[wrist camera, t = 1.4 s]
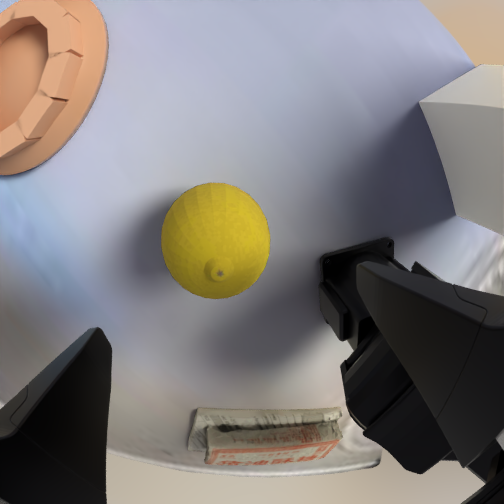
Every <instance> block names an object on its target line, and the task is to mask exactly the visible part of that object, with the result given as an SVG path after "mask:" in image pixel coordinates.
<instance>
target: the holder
mask: <svg viewBox="0 0 504 504" xmlns="http://www.w3.org/2000/svg"><path fill="white" fill-rule="evenodd" d="M108 48H109V41H108V31H107V26H106V23H105V20H104V18H103V15H102V14H101V12H100V11H99V9H98V8H97V7H96V6H95V5H94V3H93V2H92V1H91V0H20V1H18V3H17V2H15V3H14V4H13V5H11V6H10V7H8V8H7V9H6V10H4V11H3V12H2V13H0V175H12V174H17V173H20V172H24V171H27V170H30V169H32V168H34V167H36V166H39V165H40V164H42V163H44V162H45V161H47V160H48V159H50V158H51V157H52V156H53V155H55V154H56V153H57V152H58V151H59V150H60V149H61V148H62V147H63V146H64V145H65V144H66V143H67V142H68V141H69V140H70V139H71V137H72V136H73V135H74V134H75V133H76V131H77V130H78V128H79V127H80V125H81V124H82V123H83V121H84V119H85V118H86V116H87V114H88V113H89V111H90V109H91V107H92V105H93V103H94V101H95V99H96V97H97V94H98V92H99V89H100V86H101V84H102V80H103V77H104V74H105V70H106V65H107V59H108Z"/></svg>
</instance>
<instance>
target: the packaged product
mask: <svg viewBox="0 0 504 504" xmlns="http://www.w3.org/2000/svg"><path fill="white" fill-rule="evenodd" d="M340 417H342V410H341V408H340V407H334V408H323V409H297V410H239V409H213V408H198V409H197V412H196V415H195V418H194V424H193V427H192V430H191V433H190V436H189V439H188V451H201V452H206V455H205V459H204V461H205V464H211V465H267V464H283V463H294V462H302V461H311V460H317V459H320V458H324V457H325V456H326V455H327V454H328V453H329V452H330V451H331V450H332V449H333V448H334V447H335V446H336V445H337V444H338V443H339V442H340V440H341V439H342V438H343V436H342V432H341V431H340V430H339V425H338V423H337V420H338V419H339V418H340Z"/></svg>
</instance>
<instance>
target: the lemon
mask: <svg viewBox="0 0 504 504" xmlns="http://www.w3.org/2000/svg"><path fill="white" fill-rule="evenodd" d="M161 248H162V252H163V256H164V260H165V264H166V266H167V268H168V269H169V271H170V273H171V275H172V276H173V278H174V279H175V280H176V281H177V282H178V283H179V284H180V285H181V286H182V287H183V288H184V289H186V290H188V291H189V292H191V293H192V294H195V295H198V296H201V297H204V298H211V299H222V298H229V297H232V296H235V295H238V294H240V293H241V292H243V291H244V290H246V289H248V288H249V287H250V286H251V285H252V284H253V283H254V282H255V281H256V280H258V278H259V276H260V275H261V273H262V272H263V270H264V268H265V266H266V263H267V260H268V257H269V252H270V233H269V228H268V224H267V220H266V218H265V216H264V214H263V212H262V210H261V208H260V206H259V205H258V204H257V203H256V202H255V201H254V200H253V199H252V198H251V196H250V195H249V194H247V193H245V192H244V191H242V190H240V189H239V188H237V187H235V186H231V185H228V184H225V183H207V184H202V185H198V186H195V187H194V188H192V189H190V190H188V191H186V192H185V193H183V194H182V195H181V196H180V197H179V198H178V199H177V200H176V201H175V202H174V203H173V205H172V206H171V208H170V209H169V211H168V212H167V214H166V217H165V220H164V223H163V227H162V234H161Z"/></svg>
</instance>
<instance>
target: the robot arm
mask: <svg viewBox="0 0 504 504" xmlns="http://www.w3.org/2000/svg"><path fill="white" fill-rule="evenodd" d="M388 243H389V244H388ZM387 244H388V245H387ZM328 259H329V262H328V263H325V262H326V260H328ZM320 267H321V279H322V282H320V284H319V295H320V309H321V311H322V313H323V315H324V319H325V321H326V323H327V324H330V326H331V328H332V329H333V331H334V332H335V334H336V336H337V337H338V339H339V340H340V341H346V340H347V341H348V342H349V344H350V346H351V347H352V349H353V350H354V352H353V353H352V354H351V355H350V356H349V358H348V359H347V360H344V362H343V363H342V364H341V365H340V368H341V374H342V380H343V386H344V392H345V398H346V406H347V409H348V412H349V414H350V416H351V417H352V419H353V420H354V421H355V422H356V423H357V424H358V425H359V426H360V427H361V428H362V429H363V430H364V431H363V435H364V436H365V437H367V438H369V439H371V440H372V441H374V442H376V443H378V444H379V445H381V446H382V447H383V448H385V449H386V450H387V451H388V452H389V453H390V454H391V455H392V456H393V457H394V458H395V459H396V460H397V461H398V462H399V463H400V464H401V465H402V466H403V468H405V469H406V470H408V471H411V472H414V473H417V474H423V473H425V472H426V471H427V470H428V469H430V468H431V467H433V466H434V465H435V464H437V463H438V462H439V461H441V460H442V461H458V462H459V463H460V464H461V466H462V468H465V467H467V468H468V469H469V470H470V471H471V472H472V473H474V474H475V475H476V476H477V477H478V478H480V479H481V480H482V481H483V482H484V483H486V484H485V485H484V486H483V487H482V488H481V489H479V490H478V491H477V492H475V493H474V494H473V495H472V496H470V497H469V498H468V499H466V500H465V501H463V502H462V503H461V504H504V296H500V295H495V294H490V293H486V292H481V291H477V290H473V289H469V288H465V287H462V286H458V285H455V284H453V285H452V284H451V283H447V282H445V281H444V280H442V279H441V278H440V277H438V276H437V275H435V274H434V273H432V272H431V271H430V270H428V269H427V268H425V267H424V266H422V265H421V264H419V263H418V262H416V261H415V263H414V265H413V266H412V271H411V272H410V271H409V270H408V269H407V268H405V267H404V266H403V265H402V264H400V263H399V262H398V261H396V260H395V259H394V241H393V240H392V239H391V238H389V237H387V238H383V239H379V240H376V241H372V242H369V243H365V244H362V245H358V246H354V247H351V248H347V249H343V250H340V251H336V252H332V253H329V254H325V255H323V256H322V257H321V259H320ZM111 369H112V347H111V344H110V343H109V341H108V339H107V338H106V336H105V334H104V332H103V331H102V329H101V328H99V327H96V328H90V329H88V330H87V331H86V332H85V333H84V334H83V335H82V336H80V337H79V338H78V339H77V340H76V341H75V342H74V343H72V344H71V345H70V346H69V347H68V348H67V349H66V350H65V351H63V352H62V353H61V354H60V355H59V356H58V357H57V358H56V359H55V360H53V361H52V362H51V363H50V364H49V365H48V366H47V367H46V368H45V369H44V370H43V371H41V372H40V373H39V374H38V375H37V376H36V377H35V378H34V379H33V380H32V381H31V382H30V383H29V385H26V386H25V387H24V388H23V389H22V390H21V391H20V392H19V393H18V394H17V395H16V396H15V397H14V398H13V399H11V400H10V401H9V402H8V403H7V404H6V405H5V406H4V407H2V408H1V409H0V504H107V499H106V445H107V427H108V414H109V403H110V393H111Z"/></svg>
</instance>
